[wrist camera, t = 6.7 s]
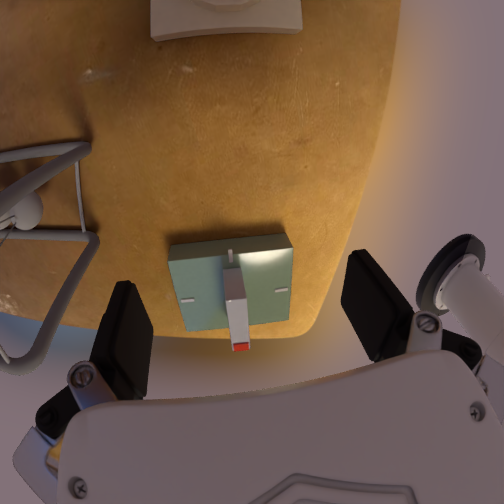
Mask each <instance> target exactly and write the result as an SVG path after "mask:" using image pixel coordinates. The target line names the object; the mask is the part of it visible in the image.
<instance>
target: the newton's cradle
mask: <svg viewBox="0 0 504 504" xmlns="http://www.w3.org/2000/svg"><path fill="white" fill-rule="evenodd" d="M91 150H92V147H91V144H90V143H88V142H82V141H80V142H69V143H59V144H51V145H44V146H37V147H30V148H24V149H19V150H13V151H8V152H3V153H0V163H4V162H10V161H16V160H22V159H29V158H37V157H45V156H54V155H61V156H59V157H57V158H55V159H53V160H51V161H49V162H48V163H46V164H44V165H42V166H41V167H39V168H37V169H35V170H34V171H32V172H30V173H29V174H27V175H26V176H24V177H22V178H21V179H19V180H18V181H16V182H15V183H13V184H12V185H10V186H9V187H7V188H6V189H4V190H3V191H1V192H0V238H4V239H3V241H2V242H1V243H0V246H1V245H2V243H3V242H4V240H5V239H6V238H8V239H36V240H63V241H86V242H89V243H88V245H87V246H86V248H85V250H84V251H83V253H82V254H81V256H80V257H79V259H78V261H77V262H76V264H75V265H74V267H73V269H72V270H71V272H70V274H69V275H68V277H67V279H66V281H65V282H64V284H63V286H62V288H61V289H60V291H59V293H58V295H57V297H56V299H55V300H54V302H53V304H52V306H51V308H50V310H49V312H48V314H47V316H46V318H45V320H44V322H43V325H42V326H41V328H40V331H39V333H38V335H37V337H36V339H35V342H34V344H33V346H32V348H31V349H30V351H29V352H28V353H27V354H26V355H24V356H23V357H20V358H11V357H8V356H7V354H6V353H5V351H4V350H3V348H2V347H1V345H0V370H1V371H4V372H7V373H9V374H13V375H19V376H20V375H24V374H29V373H30V372H32V371H34V370H36V368H38V366H39V365H40V364H41V363H42V362H43V360H44V358H45V356H46V354H47V352H48V349H49V347H50V344H51V341H52V339H53V337H54V334H55V332H56V330H57V327H58V325H59V323H60V321H61V318H62V316H63V314H64V312H65V310H66V308H67V306H68V304H69V301H70V299H71V297H72V295H73V293H74V291H75V289H76V287H77V286H78V284H79V282H80V280H81V278H82V276H83V274H84V272H85V271H86V269H87V267H88V265H89V263H90V262H91V260H92V258H93V256H94V255H95V253H96V251H97V250H98V248H99V245H100V240H99V237H98V236H97V235H96V234H95V233H93V232H91V231H86V229H85V223H84V216H83V208H82V199H81V190H80V178H79V162H78V161H79V160H81V159H82V158H84V157H86V156H87V155H89V154H90V152H91ZM74 163H75V175H76V187H77V196H78V205H79V213H80V220H81V226H82V231H81V230H34V229H32V228H34V227H35V226H36V225H37V224H38V223H39V221H40V220H41V217H42V214H43V203H42V200H41V198H40V196H39V195H38V194H37V193H36V192H34V190H35V189H37V188H38V187H40V186H41V185H42V184H44V183H45V182H47V181H48V180H50V179H51V178H52V177H54V176H55V175H57V174H58V173H60V172H62V171H63V170H65V169H66V168H68V167H69V166H71V165H73V164H74ZM11 221H12V223H13V224H14V225H13V226H12V228H11V229H4V228H5V227H7V226H8V225H9V224H10V222H11ZM14 226H16V227H17V228H19V229H13V228H14Z"/></svg>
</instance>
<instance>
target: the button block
mask: <svg viewBox="0 0 504 504" xmlns="http://www.w3.org/2000/svg"><path fill="white" fill-rule="evenodd" d="M150 24H151V38H153V39H154V40H155V41H156V42H159V41H164V40H170V39H176V38H183V37H191V36H200V35H210V34H225V33H281V34H297V33H298V32H300V31H301V30H303V24H302V9H301V0H151V7H150Z"/></svg>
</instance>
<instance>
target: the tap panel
mask: <svg viewBox="0 0 504 504" xmlns="http://www.w3.org/2000/svg"><path fill="white" fill-rule="evenodd" d="M167 262H168V266H169V270H170V274H171V278H172V282H173V285H174V289H175V293H176V296H177V300H178V303H179V307H180V310H181V314H182V317H183V321H184V324H185V327H186V330H187V332H190V331H201V330H212V329H222V328H229V323H228V316H227V309H226V302H225V292H224V281H223V269H230V268H240V267H241V269H242V274H243V280H244V285H245V291H246V296H247V306H248V321H249V325H256V324H264V323H271V322H278V321H285V320H289V310H290V296H291V281H292V265H293V246H292V244H291V242H290V240H289V238H288V236H287V234H286V233H281V234H271V235H261V236H251V237H241V238H232V239H222V240H213V241H204V242H194V243H185V244H177V245H171V247H170V251H169V256H168V261H167Z"/></svg>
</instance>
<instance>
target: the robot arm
mask: <svg viewBox="0 0 504 504" xmlns="http://www.w3.org/2000/svg"><path fill="white" fill-rule="evenodd" d="M479 267H480V263H479V259H478V258H477V257H476V256H475V255H474V254H471V253H469V254H465V255H463V256H461V257H460V258H458V259H457V260H456V261H454V262H453V263H452V264H451V265H450V266H449V267H448V269H447V270H446V271H445V272H444V274H443V275H442V277H441V278H440V280H439V282H438V284H437V286H436V288H435V291H434V295H433V302H434V304H435V306H436V307H437V308H438V309H441V310H444V309H449V311H450V312H451V313H452V314H453V315H454V317H455V318H456V319H457V321H458V322H459V323H460V325H461V326H462V327H463V329H464V330H465V331H466V333H467V334H468V335H469V337H470V338H471V339H470V338H468V337H465V336H462V335H459V334H456V333H453V332H450V331H447V330H445V329H442V322H441V320H440V319H439V317H438V316H437V315H435V314H434V313H432V312H430V311H426V310H422V311H418V312H416V313H414V311H413V310H412V309H413V308H412V307H411V305H410V304H409V303H408V301H407V300H406V299H405V297H404V296H403V295H402V293H401V292H400V291H399V290H398V288H397V287H396V286H395V284H394V283H393V282H392V281H391V279H390V278H389V277H388V276H387V274H386V273H385V272H384V271H383V269H382V268H381V267H380V266H379V265H378V263H377V262H376V261H375V260H374V259H373V258H372V256H371V255H370V254H369V253H368V251H366V249H361V250H354V251H352V254H350V255H349V256H348V262H347V268H346V274H345V280H344V285H343V291H342V296H341V305H342V308H343V309H344V311H345V313H346V315H347V317H348V318H349V320H350V322H351V324H352V326H353V328H354V330H355V332H356V334H357V335H358V338H359V339H360V341H361V343H362V345H363V347H364V349H365V351H366V353H367V355H368V357H369V359H370V360H371V361H374V363H373V364H370V365H367V366H363V367H360V368H356V369H353V370H349V371H346V372H342V373H339V374H334V375H330V376H326V377H322V378H318V379H314V380H309V381H305V382H300V383H295V384H290V385H285V386H280V387H274V388H268V389H262V390H256V391H249V392H242V393H234V394H226V395H216V396H206V397H193V398H178V399H177V398H176V399H155V400H143V397H145V396H146V394H147V382H148V373H149V364H150V356H151V348H152V340H153V326H152V324H151V321H150V319H149V317H148V314H147V312H146V310H145V307H144V305H143V303H142V300H141V298H140V295H139V293H138V290H137V288H136V285H135V284H134V283H131V282H130V281H129V280H127V281H118V282H117V283H116V285H115V287H114V290H113V293H112V295H111V298H110V301H109V304H108V307H107V310H106V313H104V314H103V316H102V319H101V322H100V325H99V328H98V332H97V335H96V338H95V342H94V345H93V348H92V352H91V355H90V359H89V361H80V362H78V363H76V364H75V365H74V366H72V368H71V369H70V370H69V372H68V375H67V382H68V386H66V387H65V388H64V389H63V390H61V391H60V392H59V393H57V394H56V395H55V396H53V397H52V398H51V399H50V400H48V401H47V402H46V403H45V404H43V405H42V406H41V407H40V408H39V409H38V411H37V413H36V418H35V420H36V427H35V428H34V427H33V426H32V427H31V428H30V430H29V431H28V433H27V434H26V436H25V437H24V439H23V440H22V442H21V443H20V445H19V446H18V448H17V449H16V451H15V452H14V455H13V465H14V467H15V469H16V471H17V472H18V473H19V474H20V476H21V477H22V478H23V479H24V481H25V482H26V483H27V484H28V485H29V487H30V488H31V489H32V490H33V491H34V492H35V493H36V495H37V496H38V497H39V498H40V499H41V500H42V501H43V502H44V503H45V504H504V296H503V295H502V293H501V292H500V291H499V290H498V289H497V288H496V287H495V286H494V285H493V284H492V283H491V282H490V281H489V279H490V276H489V274H486V275H484V274H483V273H482V272H481V271H480V270H479Z"/></svg>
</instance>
